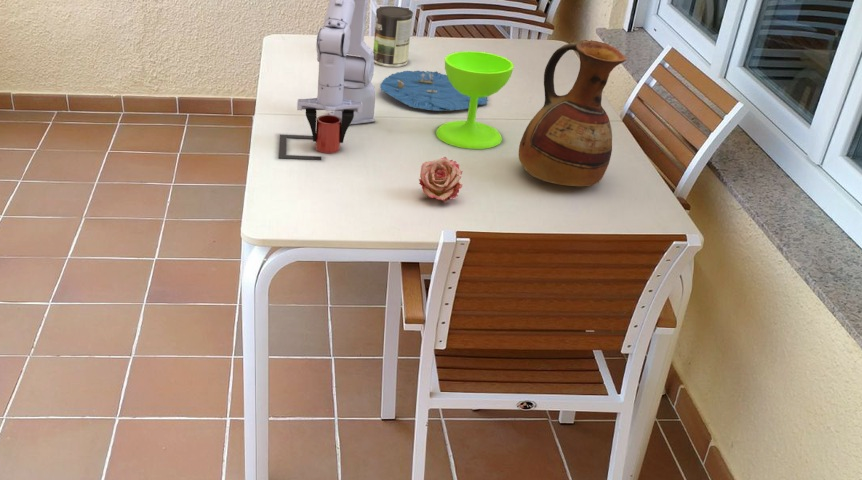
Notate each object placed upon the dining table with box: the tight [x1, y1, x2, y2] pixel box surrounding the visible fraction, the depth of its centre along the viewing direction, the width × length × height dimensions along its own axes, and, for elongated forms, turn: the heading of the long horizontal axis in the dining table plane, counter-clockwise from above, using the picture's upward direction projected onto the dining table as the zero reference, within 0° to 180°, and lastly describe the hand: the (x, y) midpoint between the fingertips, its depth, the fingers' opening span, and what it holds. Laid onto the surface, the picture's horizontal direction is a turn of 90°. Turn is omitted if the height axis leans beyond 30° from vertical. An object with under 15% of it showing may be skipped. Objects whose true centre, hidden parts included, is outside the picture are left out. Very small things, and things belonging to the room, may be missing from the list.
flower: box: [418, 156, 463, 203], centre depth 203 cm, size 10×9×8 cm
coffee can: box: [372, 5, 414, 68], centre depth 274 cm, size 10×10×14 cm
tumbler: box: [315, 114, 342, 154], centre depth 221 cm, size 6×6×7 cm
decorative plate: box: [379, 70, 488, 112], centre depth 256 cm, size 30×30×5 cm
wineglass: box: [435, 50, 515, 150], centre depth 229 cm, size 16×16×18 cm
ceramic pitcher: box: [518, 39, 627, 187], centre depth 209 cm, size 20×20×30 cm
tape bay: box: [278, 134, 322, 161], centre depth 223 cm, size 10×14×1 cm
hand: (327, 140), depth 222 cm, fingers closed on tumbler, 5 cm apart
